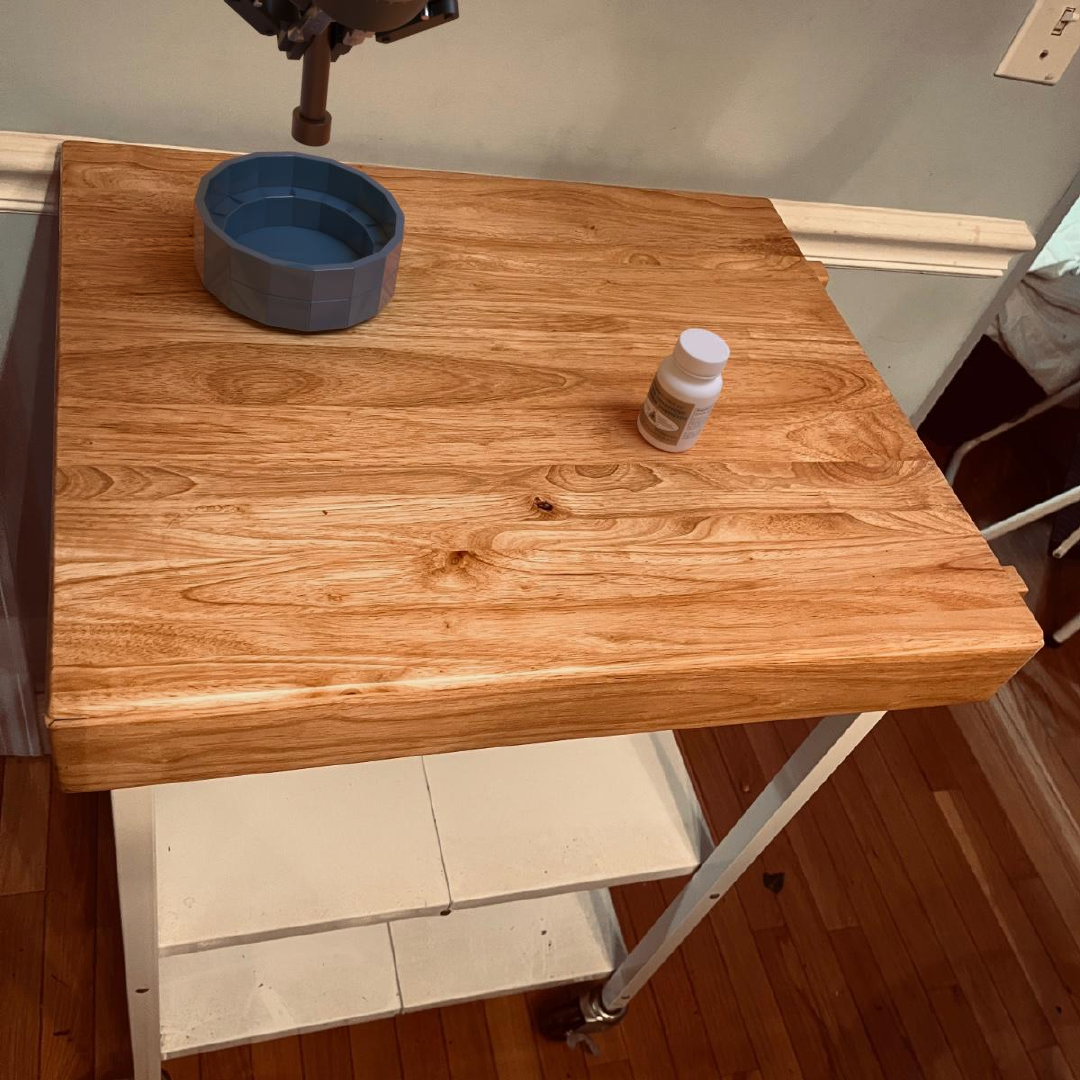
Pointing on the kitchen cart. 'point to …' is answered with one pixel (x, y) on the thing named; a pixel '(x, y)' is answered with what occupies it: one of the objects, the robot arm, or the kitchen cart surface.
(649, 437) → the pill bottle
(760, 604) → the kitchen cart surface
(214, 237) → the bowl
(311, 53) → the brown rubber stamp
